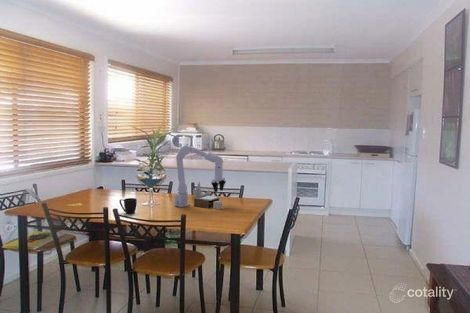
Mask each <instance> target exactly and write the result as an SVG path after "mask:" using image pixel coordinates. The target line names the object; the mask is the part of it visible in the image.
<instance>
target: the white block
mask: <svg viewBox="0 0 470 313" xmlns="http://www.w3.org/2000/svg"><path fill="white" fill-rule="evenodd" d="M212 205H213V206H212V207H213V209H214V210H221V209H223V201H221V200H219V201H215V202H213V204H212Z"/></svg>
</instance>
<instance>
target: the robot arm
mask: <svg viewBox="0 0 470 313" xmlns="http://www.w3.org/2000/svg"><path fill="white" fill-rule="evenodd" d="M189 154H197V155H199V156H201V157H204V159H205V160H207V161H208V162H211V163H215V164H214V178H213V179H212V180H211V185H212V188H213V192H214V193H218V189H219V191H223V190H224V186H225V184H226V177H223V175H224V172H223V163H224V159H223V158H222V157H221V156H220V155H218V154H215V153H212V152H211V151H207V152H205V151H203V150H200V149H198V148H196V147H194V146H190V145H186V144H185V145H183V146H182V147H181V148H180V149H179V152H178V153H177V154H176V157H175V158H176V167H177V178H178V180H177V181H178V188H177V191H178V192H177V193H176V195H175V196H174V204H173V206H174V207H180V208H183V207H186V206H187V207H188V206H191V204H190V203H188V192H187V189H188V186H187V184H186V180H185V179H186V178H185V169H184V161H183V159H184V158H185V157H186V156H187V155H189Z"/></svg>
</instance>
